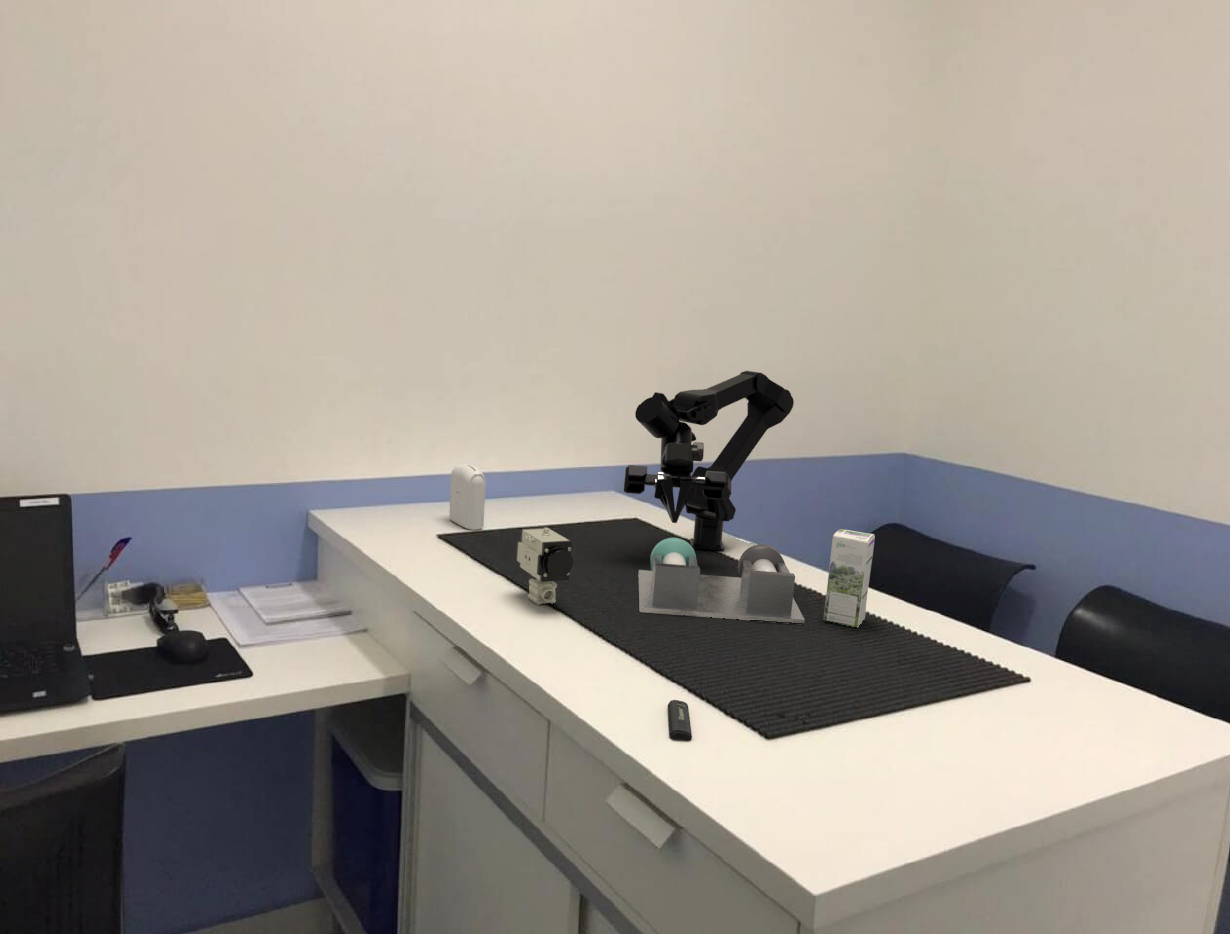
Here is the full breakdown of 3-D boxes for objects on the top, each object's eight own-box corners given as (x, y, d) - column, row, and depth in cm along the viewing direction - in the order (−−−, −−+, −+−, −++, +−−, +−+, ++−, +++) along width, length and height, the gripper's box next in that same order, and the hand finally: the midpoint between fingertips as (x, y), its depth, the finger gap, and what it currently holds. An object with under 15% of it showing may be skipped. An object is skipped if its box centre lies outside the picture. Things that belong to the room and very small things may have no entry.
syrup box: (865, 619, 168) (876, 533, 165) (857, 629, 162) (868, 540, 160) (830, 612, 170) (840, 527, 167) (822, 622, 165) (832, 534, 162)
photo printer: (446, 519, 214) (449, 460, 211) (465, 518, 216) (468, 460, 214) (466, 531, 205) (469, 470, 203) (486, 530, 207) (489, 469, 205)
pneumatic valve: (539, 589, 171) (544, 518, 168) (570, 611, 161) (576, 536, 158) (508, 592, 168) (512, 520, 166) (538, 614, 158) (543, 538, 156)
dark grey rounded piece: (736, 586, 177) (740, 542, 175) (781, 590, 177) (786, 546, 175) (743, 607, 166) (748, 560, 164) (791, 611, 166) (796, 564, 164)
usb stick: (691, 744, 118) (693, 732, 118) (668, 742, 118) (670, 730, 118) (687, 711, 127) (689, 699, 127) (666, 709, 127) (667, 697, 127)
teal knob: (648, 580, 177) (652, 535, 175) (694, 583, 177) (698, 539, 175) (649, 600, 166) (653, 553, 164) (698, 603, 166) (702, 556, 164)
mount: (638, 574, 184) (641, 533, 183) (784, 585, 184) (788, 545, 183) (639, 612, 163) (643, 566, 161) (804, 624, 163) (809, 579, 161)
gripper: (629, 421, 187) (625, 493, 178) (732, 428, 187) (733, 501, 178) (625, 456, 196) (621, 526, 187) (723, 463, 196) (724, 534, 187)
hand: (674, 521), depth 185 cm, fingers closed
